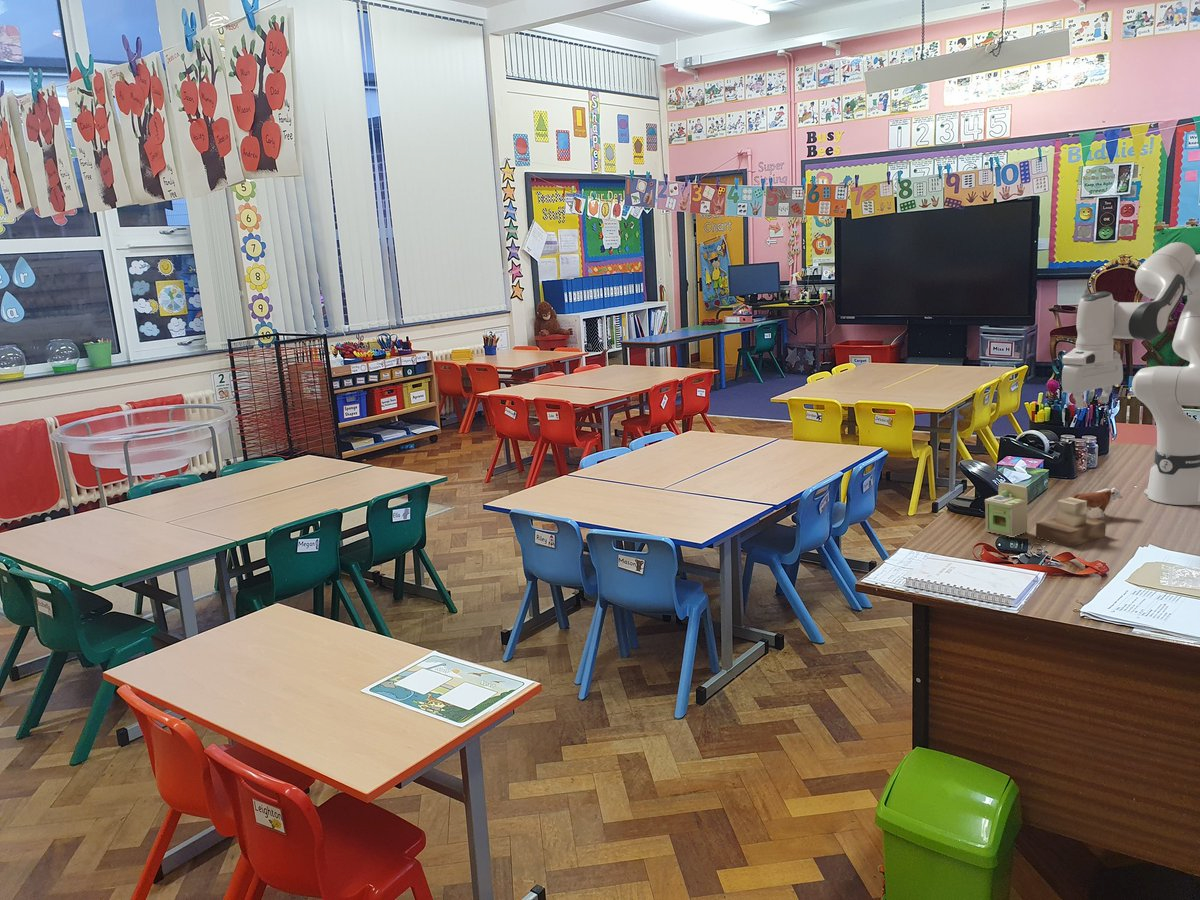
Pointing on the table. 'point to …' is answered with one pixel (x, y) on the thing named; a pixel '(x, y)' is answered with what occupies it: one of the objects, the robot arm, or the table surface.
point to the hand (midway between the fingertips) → (1092, 405)
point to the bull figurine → (1099, 499)
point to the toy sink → (1007, 510)
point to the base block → (1070, 531)
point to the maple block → (1071, 511)
